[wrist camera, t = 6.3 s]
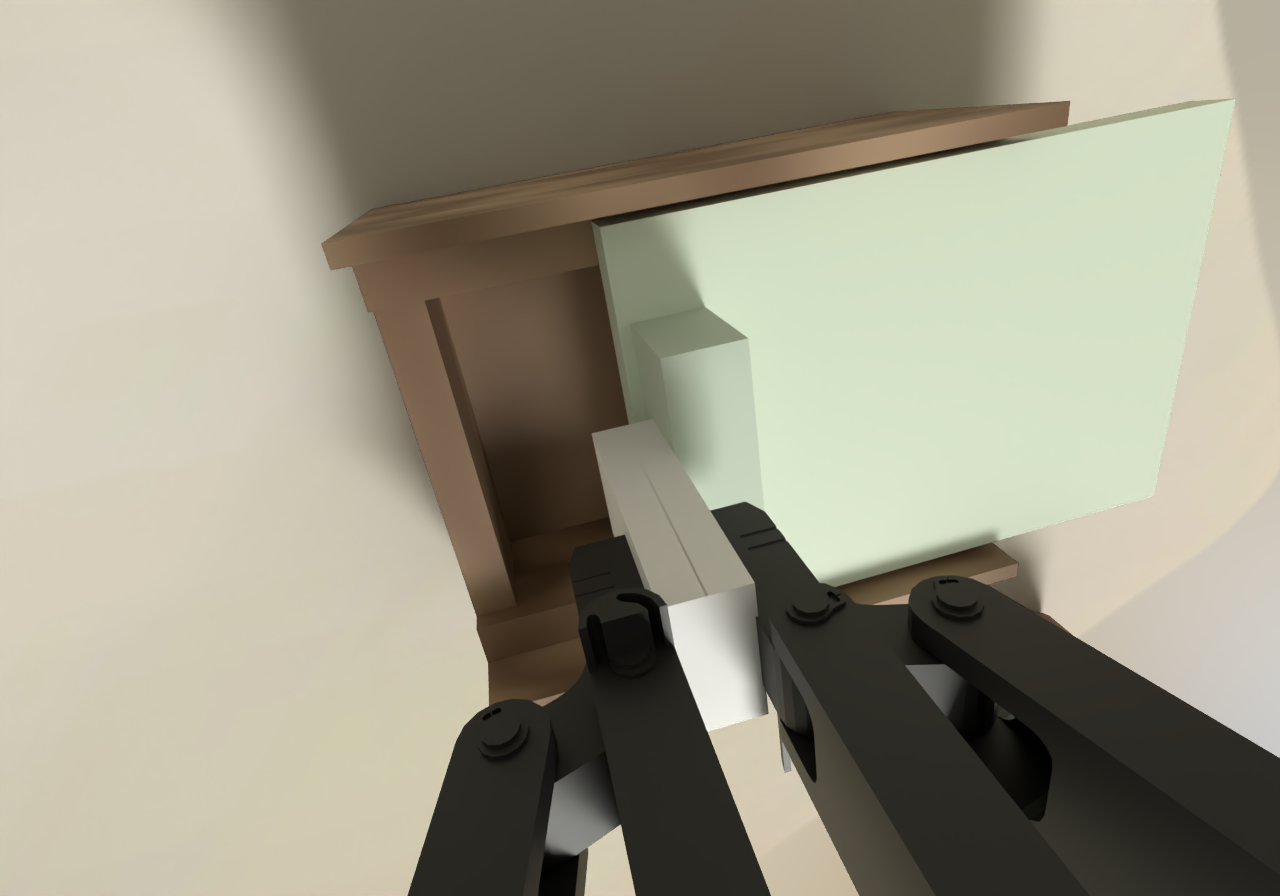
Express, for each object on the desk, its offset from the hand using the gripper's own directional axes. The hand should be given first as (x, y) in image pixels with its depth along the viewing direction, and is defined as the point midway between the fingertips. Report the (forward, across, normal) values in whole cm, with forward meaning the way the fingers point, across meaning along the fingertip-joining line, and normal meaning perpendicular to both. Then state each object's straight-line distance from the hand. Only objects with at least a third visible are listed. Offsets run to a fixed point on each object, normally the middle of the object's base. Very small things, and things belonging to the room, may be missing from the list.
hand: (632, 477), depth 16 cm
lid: (+2, +8, 0) cm, 9 cm away
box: (+7, +3, 0) cm, 8 cm away
